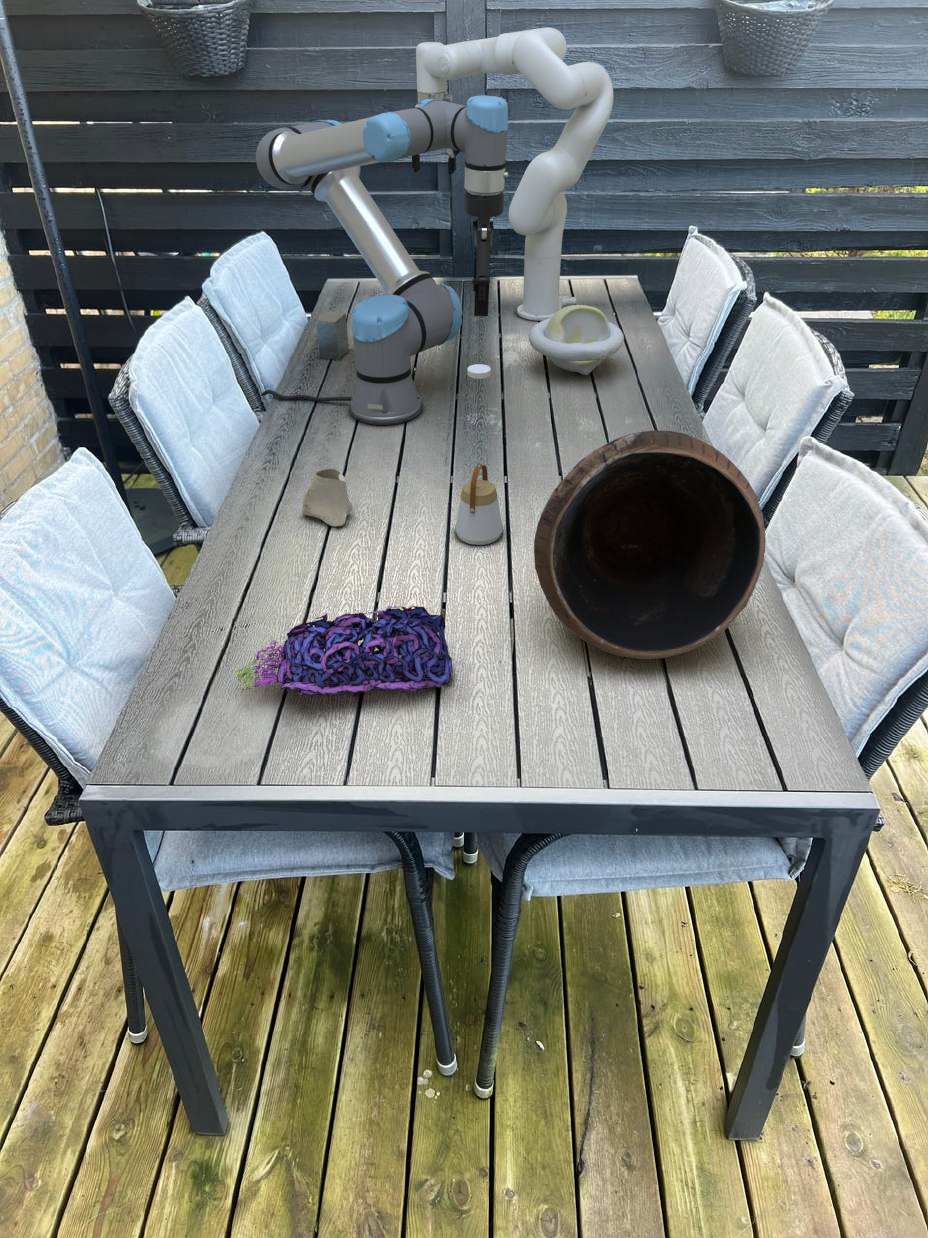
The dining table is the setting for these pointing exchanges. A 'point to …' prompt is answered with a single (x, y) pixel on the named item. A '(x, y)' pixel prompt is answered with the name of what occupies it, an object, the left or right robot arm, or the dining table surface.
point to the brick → (332, 335)
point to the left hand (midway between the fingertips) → (480, 302)
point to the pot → (650, 545)
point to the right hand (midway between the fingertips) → (434, 172)
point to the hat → (576, 338)
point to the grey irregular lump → (327, 498)
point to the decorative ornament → (358, 654)
